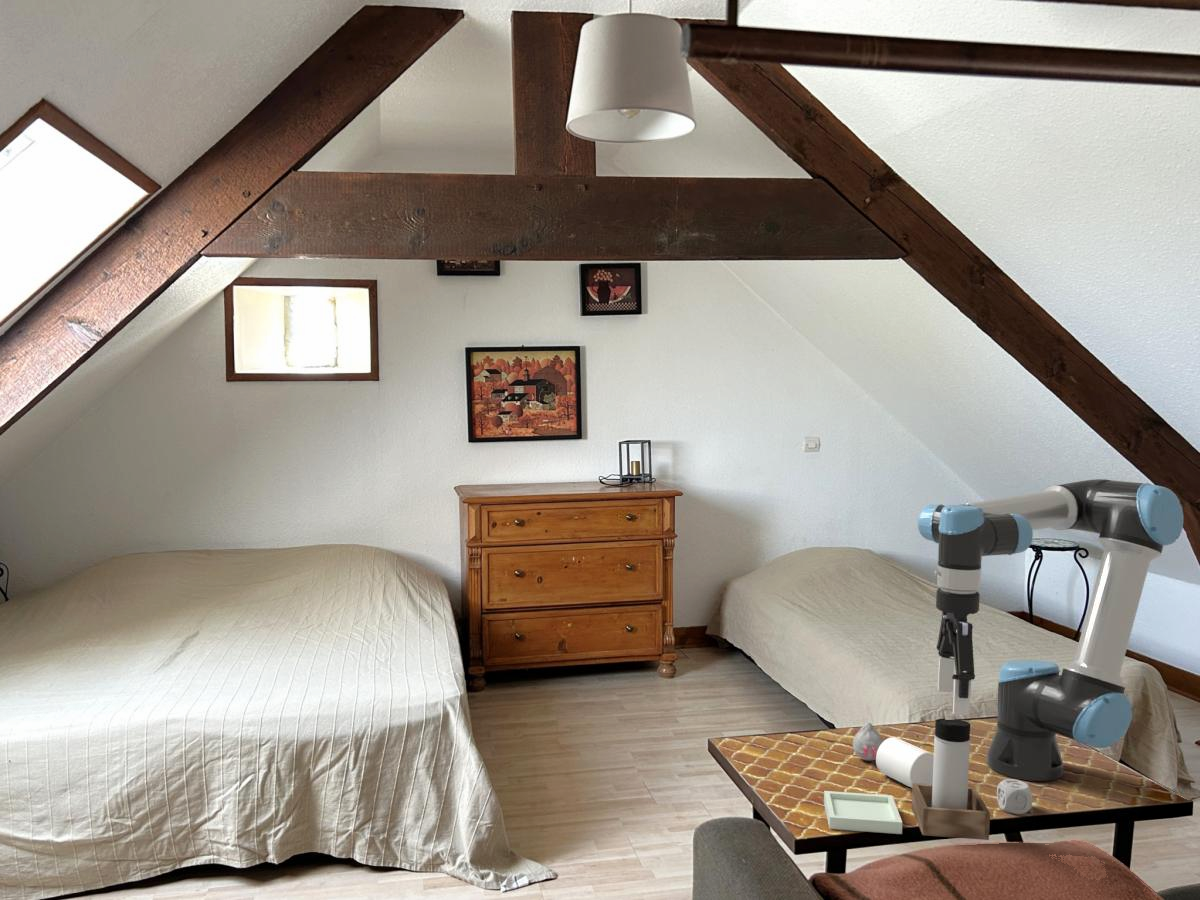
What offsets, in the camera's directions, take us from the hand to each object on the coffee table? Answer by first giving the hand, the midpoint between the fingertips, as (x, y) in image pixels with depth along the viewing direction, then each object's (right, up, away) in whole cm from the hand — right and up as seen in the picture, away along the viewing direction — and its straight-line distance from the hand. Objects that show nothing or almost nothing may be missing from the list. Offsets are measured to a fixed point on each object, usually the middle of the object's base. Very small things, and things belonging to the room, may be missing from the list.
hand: (952, 702), depth 186 cm
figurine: (-7, -21, +33) cm, 40 cm away
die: (+15, -23, +9) cm, 29 cm away
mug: (0, -22, +22) cm, 31 cm away
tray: (-16, -23, +4) cm, 28 cm away
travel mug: (0, -23, +2) cm, 23 cm away
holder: (0, -23, +2) cm, 23 cm away
